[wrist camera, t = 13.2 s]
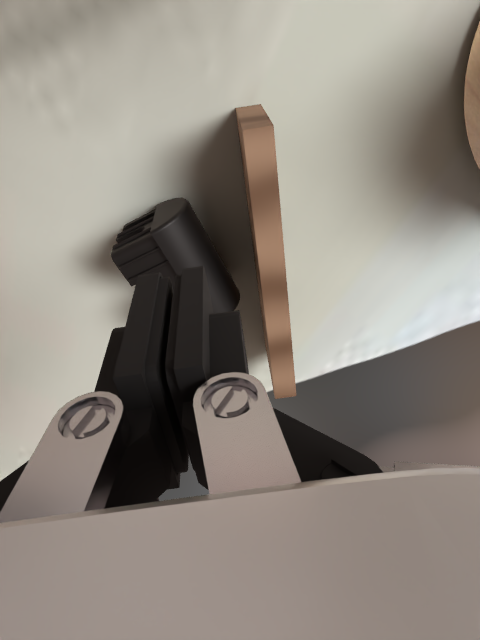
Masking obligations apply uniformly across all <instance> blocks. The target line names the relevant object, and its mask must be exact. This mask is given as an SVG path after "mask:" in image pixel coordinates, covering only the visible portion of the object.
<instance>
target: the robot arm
mask: <svg viewBox="0 0 480 640" xmlns="http://www.w3.org/2000/svg"><path fill="white" fill-rule="evenodd" d="M188 456H190V460H191V463H192V466H193V469H194V471H195V472H196V476H197V479H198V482H199V483H200V484H201V485H202V486H204V487H205V488H206V489H208V490H209V495H201V496H194V497H186V498H179V499H171V500H164V501H159V498H158V497H159V496H160V495H161V494H162V493H164V492H165V491H166V490H167V489H174V488H179V485H180V473H182V472H187V470H188V458H189V457H188ZM0 640H480V467H478V466H477V467H476V466H461V465H445V464H444V465H443V464H428V463H411V462H394V467H380V466H378V465H377V464H376V463H375V462H374V461H372V460H371V459H369V458H368V457H367V456H365V455H363V454H361V453H359V452H357V451H356V450H354V449H352V448H350V447H348V446H346V445H344V444H342V443H340V442H338V441H336V440H334V439H332V438H330V437H328V436H327V435H325V434H323V433H321V432H319V431H317V430H315V429H313V428H311V427H309V426H307V425H305V424H303V423H301V422H299V421H298V420H296V419H294V418H292V417H290V416H288V415H286V414H284V413H282V412H280V411H278V410H276V409H274V408H272V406H271V403H270V400H269V398H268V395H267V393H266V390H265V388H264V386H263V385H262V383H261V382H260V381H259V380H258V379H256V378H255V377H254V376H251V375H249V372H248V364H247V357H246V350H245V343H244V336H243V330H242V323H241V317H240V312H239V310H237V311H230V312H223V313H216V314H214V313H213V308H212V302H211V297H210V292H209V287H208V282H207V277H206V272H205V268H204V266H199V267H192V268H186V269H182V275H176V276H175V281H174V290H173V286H172V282H171V279H170V277H163V276H162V274H161V273H160V272H159V273H152V274H145V275H139V276H138V279H137V283H136V287H135V291H134V295H133V299H132V303H131V307H130V311H129V315H128V319H127V323H126V326H125V327H120V328H115V329H113V331H112V333H111V336H110V340H109V343H108V347H107V350H106V354H105V357H104V360H103V364H102V367H101V371H100V374H99V378H98V381H97V385H96V388H95V391H94V392H91V393H87V394H84V395H81V396H78V397H76V398H75V399H73V400H71V401H69V402H68V403H66V404H65V405H64V406H63V407H62V408H60V409H59V410H58V412H57V413H56V414H55V416H54V417H53V419H52V420H51V422H50V424H49V426H48V428H47V429H46V431H45V433H44V435H43V437H42V438H41V440H40V442H39V444H38V446H37V447H36V449H35V451H34V453H33V455H32V456H31V458H30V460H29V461H27V462H26V463H25V464H23V465H22V466H21V467H19V468H18V469H17V470H15V471H14V472H12V473H11V474H10V475H8V476H7V477H6V478H4V479H3V480H2V481H0Z"/></svg>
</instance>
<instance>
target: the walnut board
mask: <svg viewBox="0 0 480 640" xmlns="http://www.w3.org/2000/svg"><path fill="white" fill-rule="evenodd" d="M236 115H237V123H238V131H239V139H240V147H241V155H242V163H243V171H244V179H245V187H246V195H247V203H248V211H249V219H250V227H251V234H252V242H253V250H254V258H255V266H256V274H257V282H258V290H259V298H260V306H261V314H262V322H263V330H264V338H265V346H266V352H267V357H268V363H269V368H270V374H271V379H272V385H273V390H274V395H275V399H278V398H285V397H292V396H296V387H295V375H294V363H293V352H292V340H291V328H290V316H289V304H288V292H287V281H286V269H285V257H284V245H283V233H282V222H281V210H280V198H279V186H278V174H277V162H276V151H275V139H274V127H273V124H272V122H271V121H270V119H269V117H268V116H267V114H266V112H265V111H264V109H263V107H262V106H261V104H259V105H253V106H247V107H240V108H236Z"/></svg>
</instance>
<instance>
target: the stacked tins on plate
mask: <svg viewBox="0 0 480 640" xmlns="http://www.w3.org/2000/svg"><path fill="white" fill-rule="evenodd" d="M464 117H465V124H466V131H467V136H468V140H469V144H470V147H471V151H472V153H473V156H474V159H475V161H476V164H477V166H478V168H479V169H480V23H479V25H478V28H477V31H476V34H475V37H474V40H473V44H472V47H471V51H470V55H469V60H468V65H467V71H466V78H465V90H464Z"/></svg>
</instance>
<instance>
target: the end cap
mask: <svg viewBox="0 0 480 640" xmlns="http://www.w3.org/2000/svg"><path fill="white" fill-rule="evenodd" d="M116 241H117V242H118V244H116V245H114V246H113V249H112V252H111V257H112V259H113V261H114V263H115V264H116V266H117V267H118V268H119V270H120V271H121V273H122V274H123V275H124V277H125V278H126V280H127V281H128V282H129V284H130V285H131V286H134V285H136V283H137V279H138V276H139V275H145V274H152V273H159V272H160V273H161V274H162V276H163V277H170V279H171V282H172V286H173V290H174V281H175V276H176V275H182V269H186V268H192V267H199V266H204V268H205V272H206V277H207V282H208V287H209V292H210V297H211V302H212V308H213V313H214V314H216V313H223V312H230V311H234V310H235V308H236V307H237V305H238V303H239V300H240V293H239V290H238V288H237V287H236V285H235V283H234V281H233V280H232V278H231V276H230V274H229V272H228V271H227V269H226V267H225V265H224V264H223V262H222V260H221V258H220V257H219V255H218V253H217V251H216V249H215V248H214V246H213V244H212V242H211V241H210V239H209V237H208V235H207V234H206V232H205V230H204V228H203V226H202V225H201V223H200V221H199V219H198V218H197V216H196V214H195V212H194V210H193V209H192V207H191V205H190V203H189V202H188V201H187V200H186V199H184V198H175V199H171V200H167V201H165V202H162V203H160V204H158V205H157V206H156V209H155V210H153V211H151V212H149V213H147V214H145V215H143V216H141V217H139V218H137V219H135V220H133V221H131V222H129V223H127V224H126V225H125V226H124V229H123V232H121V233H119V234H118V235H117V239H116Z"/></svg>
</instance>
